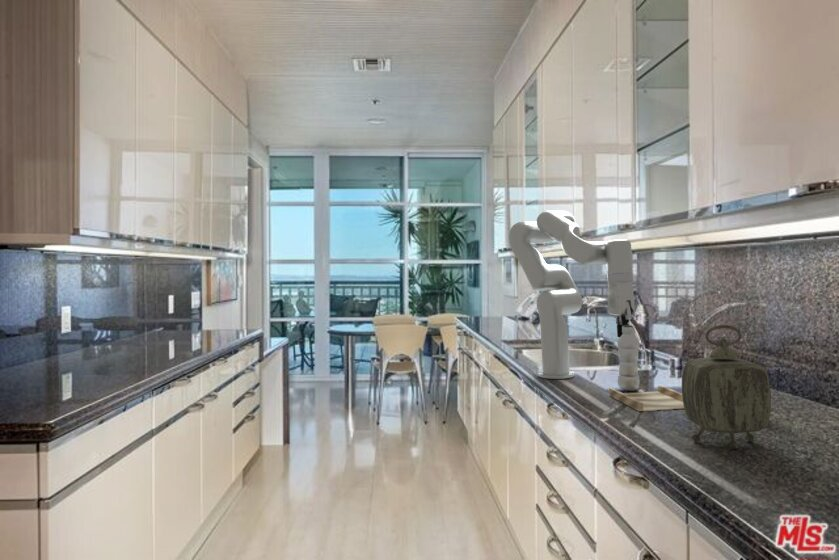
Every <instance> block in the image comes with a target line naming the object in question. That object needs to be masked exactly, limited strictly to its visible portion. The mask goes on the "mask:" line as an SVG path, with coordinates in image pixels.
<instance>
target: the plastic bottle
mask: <svg viewBox="0 0 839 560" xmlns="http://www.w3.org/2000/svg"><path fill="white" fill-rule="evenodd" d="M635 329H636V327H635V325H631V324H629V325H624V326H622V332H623V334H622V335H621V337H618V340H617V342H616V343H617V350H618V359H619V364H618V374H617V379H616V382H617V386H618V387H619V389H621V390H624V391H637V390H638V388H639V387H640V376H639V370H638V357H639V351H640V341H639V339H638V338H637V336H636V335H635V333H636V330H635Z"/></svg>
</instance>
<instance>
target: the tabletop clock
mask: <svg viewBox="0 0 839 560" xmlns="http://www.w3.org/2000/svg"><path fill="white" fill-rule="evenodd" d="M720 329H728V330H729V329H730V330H733V331H734V332H736V333H737V334H738V337H737V338H736V339H734V340H732V341H727V339H726V338H720V342H719V341H712V340H711V339H709V334H710V333H711V332H712V331H715V330H720ZM741 338H742V333H741V331H740V330H739V329H738V328H737V327H734V326H732V325H728V324H727V325H726V324H723V325H722V324H720V325H714V326H712V327H711V328H709V329H707V331H706V333H705V339H706V341H707V342H708V343H709V344H711V345H714V346H717V347H715V348H714V349H713V350H712V351H711V353H710V354H709V355H710V356H708V357H707V356H706V357H700V358H692V359H691V360H688V361H686V362H685V364H684V367H683V370H682V375H681V378H682V379H681V393H682V396H683V404H684V409H683V410H684V412H685V415H686V417H687V418H688V419H687V420H689V421H691V422H692V423H694V424H695V425H696V426H698V427H699V428H700V429H699V430H698V432H697V433H695V434H692V436H691V438H692V440H693V442H696V443H698V442H700V441H701V439H702V438H701V435H702V434H703V433H704V432H705V431H707V432H708V431H709V432H713V433H723V434H725V433H726V434H729V438H730V440H731V441H729V442H728V445H729V448H730V449H732V450H737V449H738V448H739V444H738V442H736V441H735V434H741V433H742V434H744V433H745V436H744V438H745V440H746V441H748V442H752V441H754V439H755V436H754V435H753V434H752V433H754V432H759V431H762V430H764V429H766V428H768V425H769V422H770V419H771V412H772V407H771V406H772V394H771V386H770V379H769V375H768V372H767V371H766V368H765V366H763V365H761V364H758V363H756V362H752V361H749V360H746V359H743V358H739V355H738V353H737V350H735V349H734V348H732V347H728V346H732V345H735V344H737V343H738V342H739V341H740V340H741Z"/></svg>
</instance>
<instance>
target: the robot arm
mask: <svg viewBox="0 0 839 560" xmlns="http://www.w3.org/2000/svg"><path fill="white" fill-rule="evenodd" d="M580 235H581V228H580V226H579V225H578V224H577V223H576V220H575V216H573V214H572V213H571V212H569V211H567V210H552V209H551V210H544V211H542V212H541V213H539V214H538V215H537V217H536V221H531V220H530V221H529V220H527V221H526V220H525V221H523V220H522V221H519V222H515V223H514V224H513V225H512V226H511V227H510V230H509V233H508V241H509V246H510V249H511V251H512V253H513V254H514V257H516V259H517V261H518V262H519V264H520V266H521V268H522V270H523V272H524V274H525V276H526V278H527V280H528V282H529V284H530V286H531V287H532V289H534V290H536V291H541V292H540V293H539V294H538V296H537V299H536V309H537V312H538V317H539V318H538V319H539V324H540V325H539V327H540V342H541V344H540V346H541V347H540V348H541V363H542V364H541V366H542V371H539V372H538V373H537V374H538V377H539V378H542V379H548V380H549V379H550V380H562V379H570V378H573V377H574V376H575V372H574V371H571V370H570V356H569V354H570V353H569V332H568V325H567V322H566V319H565V318H564V315H570V314H571V315H572V314H576V313H578V312H579V311H580V310H581V309H582V306H583V299H582V295H581V292H580V291H579V289H578V286H577V285H576V284H575V283H576V282H575V281H574V279H573V278H572V276H571V274H570V272H569V271H568V270H567V269H566V268H565V267H564V266H562V265H559V264H548V263H546V261H545V259H544V258H543V257H544V256H542V254H541V252H540V251H539V250H538V249H537V248H536V247H534V246H533V245H532V244H547V243H551V242H554V241H556V242H557V243H559V244H561V249H562V250H563V252H564V254H565V255H567V256H568V257H569V258H570V259H572V260H574V261H575V262H577V263H578V264H581V265H585V266H593V265H595V266H597V265H600V266H601V265H606V274H607V285H608V286H607V312H608V314H609V315H612V316H613V318H615V324H616V332H617V333H616V334H617V335H616V336H617V338H620V337H621V335H622V334H623V332H622V326H624V325H630V320H631V319H632V316H633V315H634V314H635V311H636V310H635V308H636V307H635V296H634V288H633V283H634V271H633V254H632V252H633V251H632V243H631V241H630V240H629V239H612V240H608V241H586V240H584V239H582V238H581V237H580Z"/></svg>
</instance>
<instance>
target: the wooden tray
mask: <svg viewBox="0 0 839 560" xmlns="http://www.w3.org/2000/svg"><path fill="white" fill-rule="evenodd" d="M608 389H609V390H608V393H609V394H608V395H609V397H612V398H613V399H616V400H617V401H618V402H621V403H623V404H625V405H626V406H629V407H630V408H632V409H633V410H636V411H637V410H638V412H639V411H643V412H657V410H661V411H674V410H673V409H679V410H685V409H684V404H683V396H682V392H680V391H677V390H675V389H672V388H669V387H667V386H664V385H660V384H659V385H658V386H657V390H656V391H641V392H624V393H623V392H621V391H619V390H617V389H615V388H613V387H609V388H608Z"/></svg>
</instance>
